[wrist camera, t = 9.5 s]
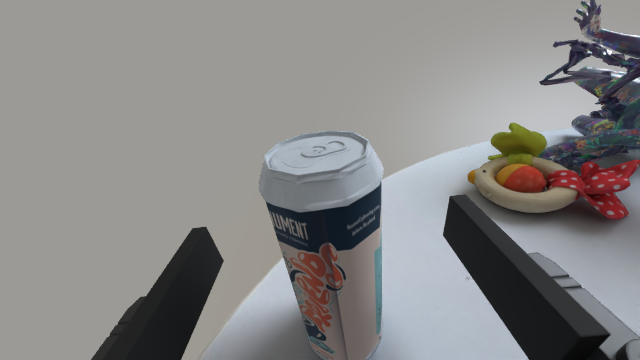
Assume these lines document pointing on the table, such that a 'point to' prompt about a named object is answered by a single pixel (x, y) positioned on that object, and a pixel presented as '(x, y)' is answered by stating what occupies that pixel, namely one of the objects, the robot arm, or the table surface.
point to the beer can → (330, 236)
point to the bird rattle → (546, 178)
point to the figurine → (601, 93)
